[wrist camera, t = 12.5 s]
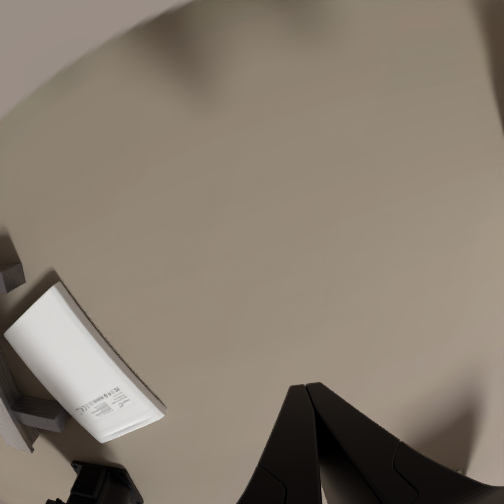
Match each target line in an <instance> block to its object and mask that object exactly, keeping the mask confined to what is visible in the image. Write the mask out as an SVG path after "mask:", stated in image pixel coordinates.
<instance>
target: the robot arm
mask: <svg viewBox="0 0 504 504" xmlns="http://www.w3.org/2000/svg"><path fill="white" fill-rule="evenodd" d="M71 466H72V468H73V469H74V471H75V472H76V474H77V478H76V480H75V482H74V484H73V486H72V488H71V490H70V492H71V494H70V496H69V498H68V500H67V502H66V503H64V502H62V500H60V499H59V498H57V499H56V501H54V500H50V499H48V500H47V502H46V504H143V503H144V501H143V499H142V498H141V496H140V494H139V493H138V491H137V489H136V487H135V486H134V484H133V482H132V480H131V479H130V477H129V475H128V473H127V472H126V471H125V470H123V469H118V468H111V467H104V466H98V465H93V464H87V463H82V462H77V461H72V463H71ZM321 484H322V488H323V491H324V494H325V497H326V500H327V503H328V504H504V486H491V485H487V484H484V483H481V482H478V481H476V480H474V479H471V478H469V477H467V476H465V475H462V474H460V473H458V472H456V471H454V470H452V469H449V468H447V467H445V466H443V465H441V464H439V463H437V462H435V461H433V460H432V459H430V458H428V457H426V456H424V455H423V454H421V453H419V452H418V451H416V450H415V449H413V448H412V447H410V446H409V445H407V444H406V443H404V442H403V441H401V442H400V439H398V438H397V437H395V436H394V435H392V434H391V433H389V432H388V431H387V430H385V429H384V428H382V427H381V426H379V425H378V424H377V423H375V422H374V421H372V420H371V419H370V418H368V417H367V416H365V415H364V414H363V413H361V412H360V411H359V410H357V409H356V408H354V407H353V406H352V405H350V404H349V403H348V402H346V401H345V400H344V399H342V398H341V397H340V396H338V395H337V394H336V393H334V392H333V391H332V390H330V389H329V388H328V387H326V386H325V385H324V384H322V383H321V382H316V383H308V384H306V386H305V385H304V384H300V385H292V386H290V387H289V389H288V392H287V395H286V397H285V400H284V402H283V405H282V407H281V410H280V412H279V415H278V417H277V420H276V422H275V425H274V427H273V429H272V432H271V434H270V437H269V439H268V441H267V444H266V446H265V448H264V451H263V453H262V455H261V458H260V460H259V462H258V464H257V467H256V468H255V471H254V473H253V475H252V477H251V479H250V481H249V483H248V485H247V487H246V489H245V491H244V492H243V494H242V495H241V497H240V499H239V500H238V502H237V503H236V504H322V493H321Z"/></svg>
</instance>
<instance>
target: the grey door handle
mask: <svg viewBox="0 0 504 504" xmlns="http://www.w3.org/2000/svg"><path fill="white" fill-rule="evenodd" d="M24 283H26V282H25V278H24V273H23V269H22V264H21V263H17V264H7V265H0V294H2V293H8V292H10V291H12V290H13V289H15V288H17V287H19V286H20V285H22V284H24ZM71 417H72V416H71V415H70V414H69V412H68V411H67V410H66V409H65V408H64V407H63V406H62V405H61V404H60V403H59V402H57V401H51V400H44V399H38V398H33V397H27V396H22V395H20V393H19V391H18V389H17V387H16V384H15V382H14V380H13V378H12V375H11V373H10V371H9V368H8V366H7V363H6V361H5V358H4V356H3V353H2V350H1V348H0V434H1V436H2V437H3V439H4V441H5V442H6V444H7V445H8V446H10V447H13V448H16V449H19V450H22V451H25V452H29V453H33V451H34V448H33V446H32V445H33V444H34V442H35V441H36V439H37V438H38V436H39V435H40V432H39V430H38V429H37V428H40V429H45V430H49V431H54V432H59V433H62V431H63V429H64V428H65V426H66V425H67V423H68V421H69V420H70V418H71Z"/></svg>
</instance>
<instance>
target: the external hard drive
mask: <svg viewBox="0 0 504 504" xmlns="http://www.w3.org/2000/svg"><path fill="white" fill-rule="evenodd" d="M4 336H5V338H6V339H7V340H8V342H9V343H10V344H11V346H12V347H13V348H14V350H15V351H16V352H17V354H18V355H19V356H20V358H21V359H22V360H23V361H24V363H25V364H26V365H27V366H28V368H29V369H30V370H31V371H32V373H33V374H34V375H35V376H36V377H37V379H38V380H39V381H40V382H41V383H42V384H43V385H44V387H45V388H46V389H47V390H48V391H49V392H50V393H51V394H52V396H53V397H54V398H55V399H56V400H57V401H58V402H59V403H60V404H61V405H62V406H63V407H64V408H65V409H66V410H67V411H68V412H69V414H70V415H71V416H72V417H73V418H75V419H76V420H77V422H79V423H80V424H81V425H82V426H83V427H84V428H85V429H86V430H87V431H88V432H89V433H90V434H91V435H92V436H93V437H94V438H95V439H97V440H98V441H99V442H100V443H104V442H107V441H109V440H112V439H114V438H117V437H119V436H122V435H124V434H126V433H129V432H131V431H134V430H136V429H139V428H141V427H143V426H145V425H148V424H150V423H152V422H155V421H157V420H159V419H161V418H162V417H164V416H165V413H166V410H167V408H166V407H165V406H164V405H163V404H162V403H161V402H160V401H159V400H158V399H157V398H156V397H155V396H154V395H153V394H152V393H151V392H150V391H149V390H148V389H147V388H146V387H145V386H144V385H143V384H142V383H141V382H140V380H139V379H138V378H137V377H136V376H135V375H134V374H133V373H132V372H131V370H130V369H129V368H128V367H127V366H126V365H125V364H124V363H123V361H122V360H121V359H120V358H119V357H118V356H117V354H116V353H115V352H114V351H113V350H112V349H111V347H110V346H109V345H108V344H107V343H106V341H105V340H104V339H103V338H102V337H101V335H100V334H99V333H98V332H97V330H96V329H95V328H94V326H93V325H92V324H91V323H90V321H89V320H88V319H87V317H86V316H85V315H84V313H83V312H82V311H81V309H80V308H79V307H78V305H77V304H76V303H75V301H74V300H73V298H72V297H71V296H70V294H69V293H68V292H67V290H66V289H65V287H64V286H63V284H62V283H61V282H60V281H59V282H57V283H56V284H54V285H53V286H52V287H51V288H50V289H48V290H47V291H46V292H45V293H44V294H43V295H42V296H41V297H40V298H39V299H38V300H37V301H36V302H35V303H34V304H33V305H32V306H31V307H30V308H29V309H28V310H27V311H26V312H25V313H24V314H23V315H22V316H21V317H20V318H19V319H18V320H17V321H16V322H15V323H14V324H13V325H12V326H11V327H10V328H9V329H8V330H7V331H6V332H5V333H4Z"/></svg>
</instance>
